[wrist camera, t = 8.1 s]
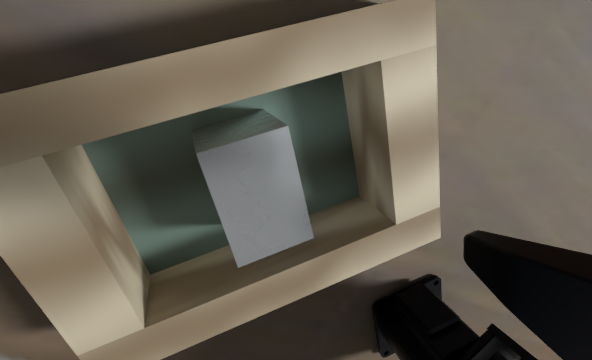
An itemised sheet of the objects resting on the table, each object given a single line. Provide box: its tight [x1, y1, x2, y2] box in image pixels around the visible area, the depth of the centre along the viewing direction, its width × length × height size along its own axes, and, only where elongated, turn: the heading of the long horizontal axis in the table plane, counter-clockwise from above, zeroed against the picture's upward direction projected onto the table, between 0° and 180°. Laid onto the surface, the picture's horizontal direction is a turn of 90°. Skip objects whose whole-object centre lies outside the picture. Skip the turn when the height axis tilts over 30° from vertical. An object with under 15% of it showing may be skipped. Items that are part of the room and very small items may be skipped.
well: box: [0, 0, 441, 360], centre depth 17 cm, size 14×20×4 cm
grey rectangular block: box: [191, 109, 314, 268], centre depth 17 cm, size 6×4×4 cm, turn 12°
